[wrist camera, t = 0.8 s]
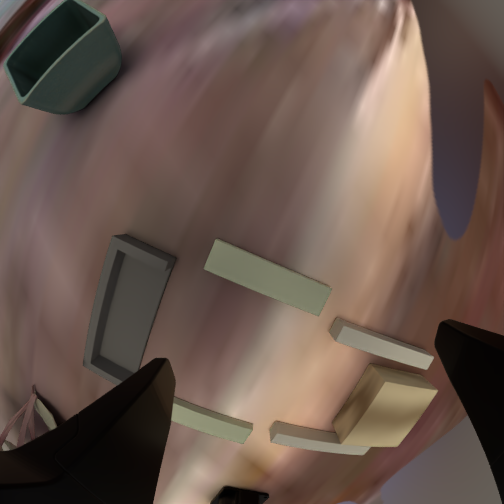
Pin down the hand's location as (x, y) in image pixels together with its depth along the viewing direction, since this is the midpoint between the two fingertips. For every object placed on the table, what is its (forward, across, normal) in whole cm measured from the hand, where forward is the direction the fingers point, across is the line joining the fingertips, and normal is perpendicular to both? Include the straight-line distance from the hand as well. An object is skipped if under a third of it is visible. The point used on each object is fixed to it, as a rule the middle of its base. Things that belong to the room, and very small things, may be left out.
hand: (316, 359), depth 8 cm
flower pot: (+18, +16, -18) cm, 30 cm away
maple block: (+12, -10, +18) cm, 24 cm away
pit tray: (+14, +14, +5) cm, 20 cm away
